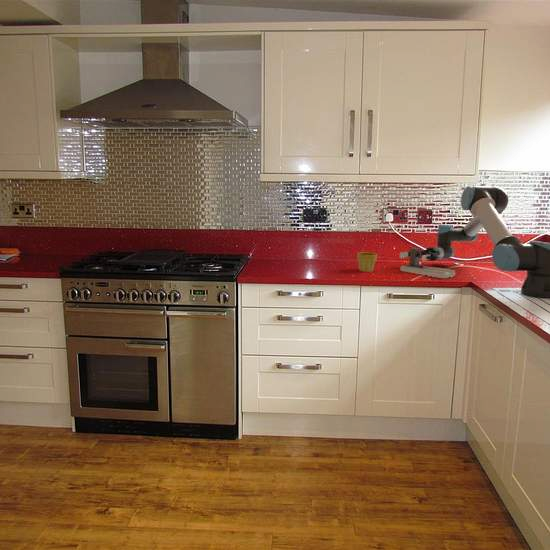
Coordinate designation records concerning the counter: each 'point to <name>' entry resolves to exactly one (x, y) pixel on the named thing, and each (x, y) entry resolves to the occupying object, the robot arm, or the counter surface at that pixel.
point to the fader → (414, 258)
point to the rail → (430, 271)
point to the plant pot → (366, 261)
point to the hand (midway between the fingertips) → (411, 256)
